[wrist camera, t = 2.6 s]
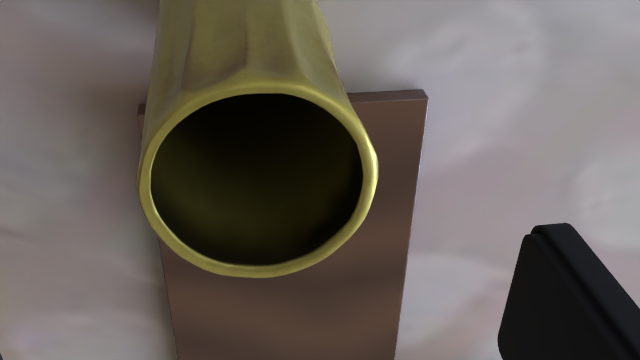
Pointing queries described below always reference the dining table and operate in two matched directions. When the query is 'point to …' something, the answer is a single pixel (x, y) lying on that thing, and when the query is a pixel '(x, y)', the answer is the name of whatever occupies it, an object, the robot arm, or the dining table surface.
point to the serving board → (316, 268)
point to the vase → (251, 138)
